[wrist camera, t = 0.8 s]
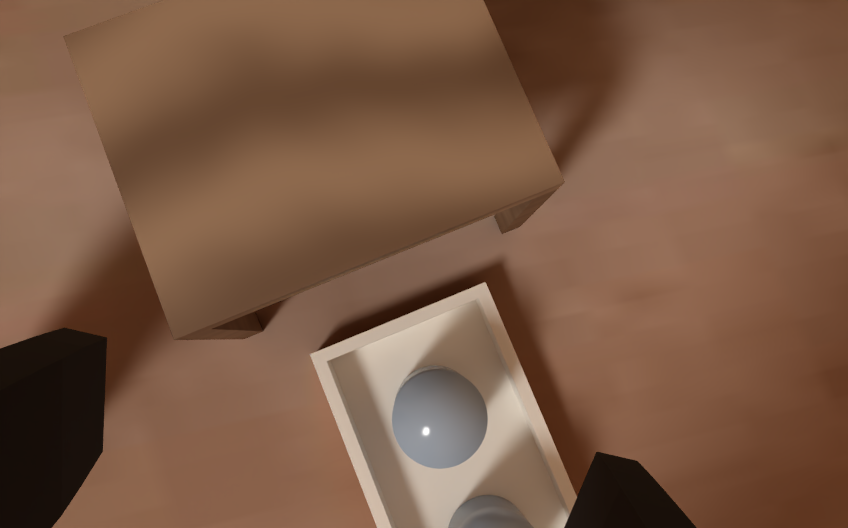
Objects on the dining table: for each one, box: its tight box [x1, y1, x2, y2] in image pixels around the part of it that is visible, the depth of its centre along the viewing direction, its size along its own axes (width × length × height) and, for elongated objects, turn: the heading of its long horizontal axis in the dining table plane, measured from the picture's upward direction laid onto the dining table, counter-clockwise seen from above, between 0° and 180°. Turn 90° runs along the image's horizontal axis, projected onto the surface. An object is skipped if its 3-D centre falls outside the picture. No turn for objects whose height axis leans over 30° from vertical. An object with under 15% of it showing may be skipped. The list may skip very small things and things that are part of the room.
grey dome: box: [392, 365, 488, 469], centre depth 27 cm, size 4×4×5 cm
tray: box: [310, 282, 577, 528], centre depth 29 cm, size 16×9×2 cm, turn 22°
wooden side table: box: [63, 0, 565, 340], centre depth 27 cm, size 12×15×9 cm
